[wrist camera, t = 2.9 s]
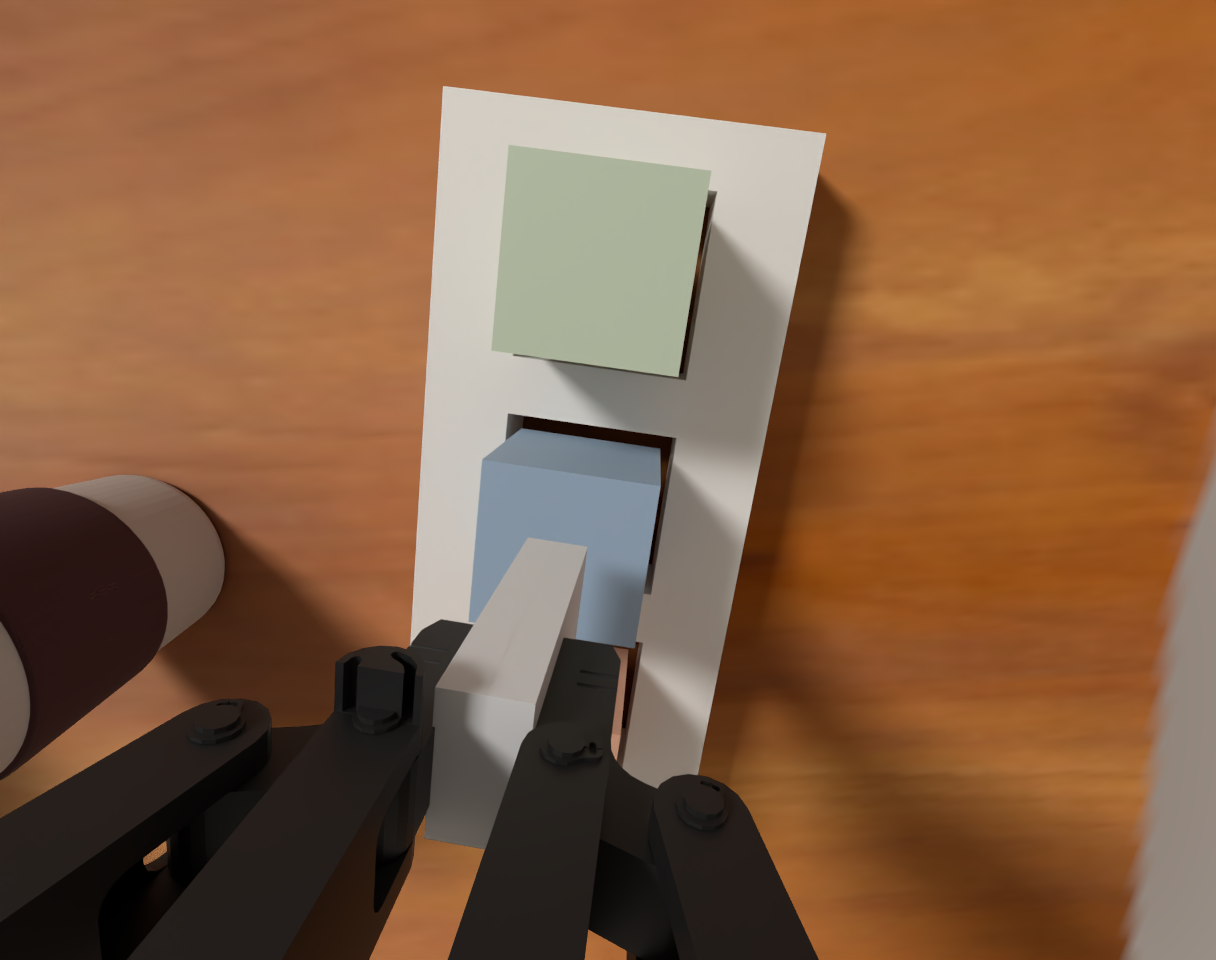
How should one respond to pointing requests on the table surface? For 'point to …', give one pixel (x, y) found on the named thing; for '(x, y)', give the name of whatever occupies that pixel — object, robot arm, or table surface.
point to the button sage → (597, 259)
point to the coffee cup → (92, 596)
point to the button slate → (572, 521)
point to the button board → (619, 380)
